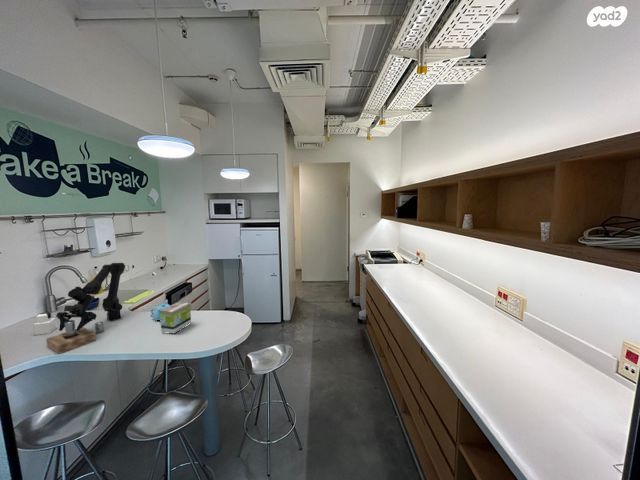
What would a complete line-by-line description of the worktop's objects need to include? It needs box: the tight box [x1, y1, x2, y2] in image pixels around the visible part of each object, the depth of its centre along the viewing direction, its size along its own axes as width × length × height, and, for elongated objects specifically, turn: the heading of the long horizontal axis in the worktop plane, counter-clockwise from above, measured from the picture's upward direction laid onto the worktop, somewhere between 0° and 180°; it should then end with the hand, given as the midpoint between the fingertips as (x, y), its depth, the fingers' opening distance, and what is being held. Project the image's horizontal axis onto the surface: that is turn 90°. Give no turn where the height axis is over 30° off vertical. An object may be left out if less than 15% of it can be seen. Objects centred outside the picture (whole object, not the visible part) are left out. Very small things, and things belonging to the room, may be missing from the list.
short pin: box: [94, 321, 105, 335], centre depth 160 cm, size 4×4×6 cm
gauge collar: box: [46, 326, 97, 355], centre depth 147 cm, size 16×16×4 cm
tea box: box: [160, 302, 192, 333], centre depth 165 cm, size 15×10×15 cm
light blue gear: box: [150, 299, 171, 321], centre depth 181 cm, size 15×15×10 cm
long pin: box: [64, 319, 76, 339], centre depth 147 cm, size 4×4×13 cm
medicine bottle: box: [33, 311, 58, 336], centre depth 160 cm, size 7×7×12 cm
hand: (68, 330), depth 146 cm, fingers open, 9 cm apart
